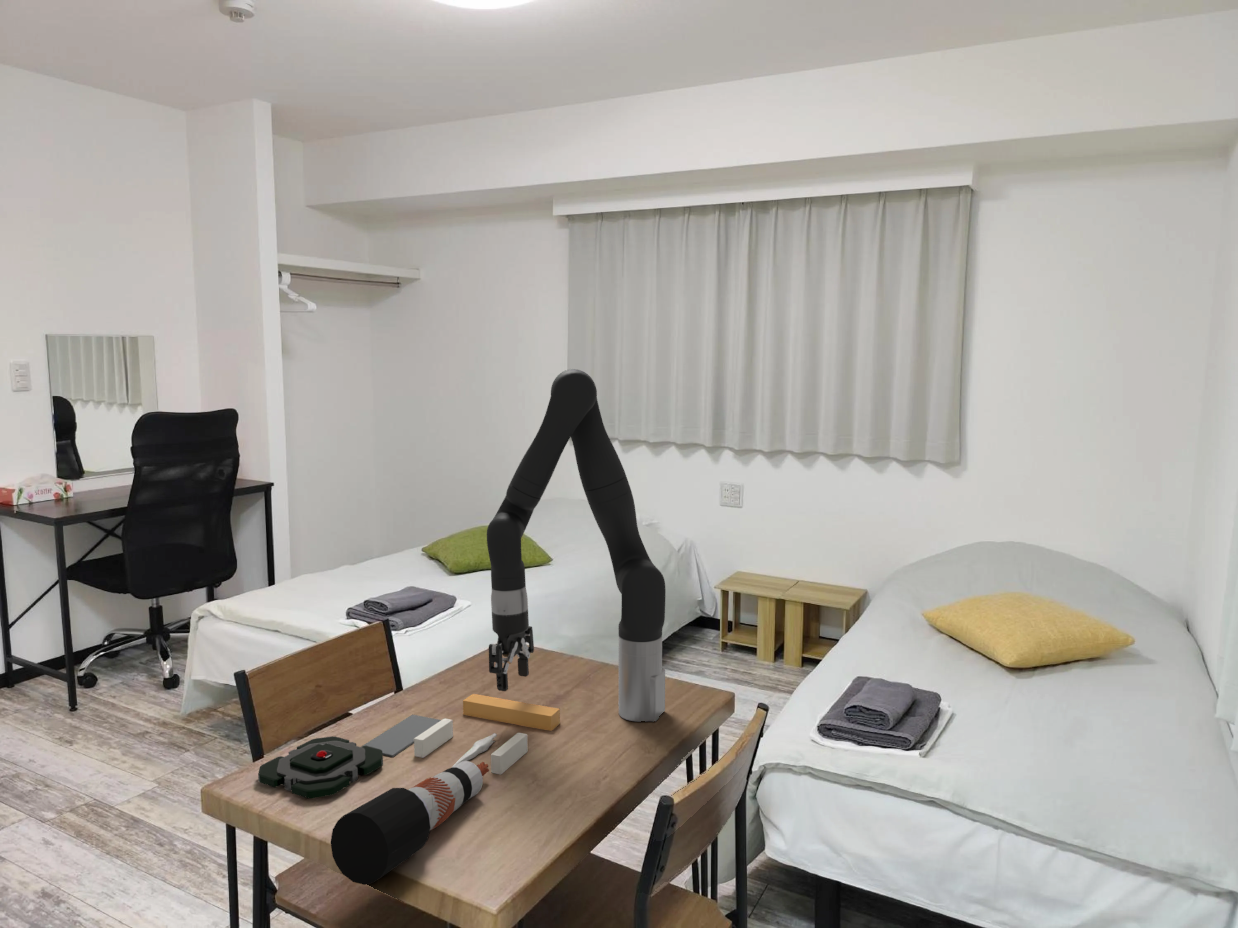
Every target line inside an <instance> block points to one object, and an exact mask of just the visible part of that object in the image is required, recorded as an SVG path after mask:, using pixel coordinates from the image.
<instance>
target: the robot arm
mask: <svg viewBox="0 0 1238 928" xmlns="http://www.w3.org/2000/svg"><path fill="white" fill-rule="evenodd" d="M597 395H598V389H597V385H596V383H595V382H594V380H593V378H592V377H591V376H590V375H589V374H588V373H586V372H585V371H583V370H580V369H575V368H572V369H571V368H569V369H567V370H564V371H562V372H560V373H559V374H558V375H557V376H556V377H555V378H554V380H553V382H552V384H551V387H550V397H549V401H548V404H547V408H546V410H545V414H544V417H543V419H542V422H541V424H540V427H539V428H538V431H537V433H536V435H535V436H534V438H533V440H532V442H531V444H529V445H530V446H529V447H528V449H527V450H526V452H525V454H524V455H523V457H522V459H521V461H520V462H519V464H518V466H517V468H516V470H515V472H514V474H513V476H512V477H511V480H510V483H509V484H508V487H507V490H506V493H505V497H504V499H503V501H502V502H501V503H500V506H499V508H498V510H497V512H496V513H495V515H494V517H493V519H492V520H491V521H490V522H489V524H488V526H487V528H486V546H487V552H488V557H489V563H490V579H491V581H490V582H491V595H490V606H491V624H492V631H493V633H495V634H496V635H497V643H489V645H488V672H489V673H490V674H495V675H496V678H495V679H496V687H497V688H496V689H497V690H498V691H499V692H500V691H501V692H507V691H508V690H509V680H508V679H509V677H508V670H509V665H510V664H512V663H513V660H514V658H515V657H516V656H517V658H518V659H517V673H518V676H519V677H528V676H529V674H530V671H529V659H530V658H531V653H532V654H533V653H534V652H535V647H534V646H535V645H534V644H535V642H534V632H533V626H530V625H529V624H530V623H529V621H530V620H529V605H528V604H529V603H528V602H529V600H528V592H527V586H526V569H525V568H526V567H525V563H524V561H523V560H522V556H523V555H522V538H523V535H524V534H525V531H526V529H527V527H528V524H529V522H530V520H531V517H532V515H533V513H534V511H535V508H536V507H537V506H538V504H539V502H540V501H541V498H542V496H543V495H544V493H545V491H546V490H547V487H548V485H549V483H550V481H551V478H552V477H553V475H554V472H555V469H556V468H557V465H558V463H559V460H560V458H561V456H562V454H563V452H564V450H565V448H566V446H567V444H568V442H569V440H570V439H571V442H572V445H573V450H574V451H573V452H574V456H575V460H576V466H577V470H578V474H579V478H580V481H581V485H582V488H583V492H584V494H585V497H586V499H587V502H588V505H589V508H590V510H591V513H592V515H593V517H594V520H595V521H596V524H597V526H598V528H599V530H600V532H601V534H602V536H603V538H604V541H605V543H606V546H607V550H608V553H609V556H610V561H611V564H612V569H613V572H614V579H615V583H616V586H617V589H618V591H619V592H620V594H621V609H620V610H621V616H620V617H621V618H620V621H619V622H618V704H617V706H618V715H619V717H621V718H622V719H623V720H627V721H630V722H631V721H632V722H636V723H637V722H639V723H640V722H641V721H645V722H654V721H655V722H657V720H658V719H659V718H660V717H661V716H662V715H663V714H664V713H665V712H664V711H666V668H664V667H663V627H664V624H665V619H666V582H665V578H664V575H663V574H662V572H661V571H660V570H659V569H658V567H656V565H654V563H653V561H652V560H651V558H650V556H649V554H648V552H647V549H646V547H645V545H644V543H643V541H642V538H641V535H640V532H639V529H638V528H639V527H638V522H637V511H636V506H635V500H634V496H633V492H632V489H631V485H630V483H629V481H628V478H627V475H626V472H625V468H624V467H623V464H622V461H621V460H620V457H619V455H618V453H617V451H616V448H615V447H614V445H613V443H612V440H611V439H610V436H609V435H608V433H607V430H606V427H605V425H604V421H603V419H602V414H601V413H602V412H601V409H600V407H599V406H600V405H599V402H598V397H597ZM527 643H528V644H527ZM663 712H664V713H663ZM662 713H663V714H662ZM661 714H662V715H661ZM660 715H661V716H660ZM659 716H660V717H659ZM641 723H642V722H641Z"/></svg>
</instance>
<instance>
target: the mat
mask: <svg viewBox="0 0 1238 928" xmlns="http://www.w3.org/2000/svg"><path fill="white" fill-rule="evenodd" d="M441 720H442V719H438V718H434V717H428V716H423V715H417V714H413V713H412V714H411V715H410V716H409V715H408V717H406V718H404V719H403V720H402V721H399V722H398V723H397V724H395V725H393V726H392V727H390V728H389V729H387V730H385V731H384V732H382V733H380V734H379V735H377V736H376V737H373V739H371V740H369V741H368V742H366V743H365V744H363V745H362V746H365V745H367V746H370V747H374V748H377V749H381V750H382V753H383V756H386V757H390V758H394V757H395V756H397V755H399V754H400V753H402V752H403V751H405V750H406V749H407V748H408V747H410V746H412V745H414V738H415V737H417V736H418V735H420V734H421V733H423V732H424V731H426V730H427V729H429V728H430V727H432V726H433V725H435V724H436V723H438V722H439V721H441ZM362 746H360V747H362Z"/></svg>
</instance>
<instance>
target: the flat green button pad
mask: <svg viewBox="0 0 1238 928" xmlns="http://www.w3.org/2000/svg"><path fill="white" fill-rule="evenodd" d="M383 765H384V755H383V753H382V750H381V749H377V748H374V747H370V746H367V745H365V746H363V745H362V747H361V746H359V745H357V743H356V742H354V741H350V739H346V738H342V737H339V736H336V735H335V736H334V735H333V736H325V737H316V738H312V739H310V740H308V741H306V742H304V743H302V744H300V745H298V746H296V748H294V749H292V750H290V751H288V755H285V756H280V755H279V756H276V757H274V758H273V759H270V760H269V761H266V762H265V763H262V764H261V765H260V766H259V768H258V773H257V777H258V778H257V779H258V780H257V781H258V783H260V784H263V785H266V786H270V787H271V788H278V787H280V786H284V790H286V791H289V792H291V794H294V795H295V796H299V797H302V798H305V799H316V798H317V799H318V798H323V797H330V796H333V795H335V794H337V793H339V792H341V791H342V790H344V789H346V788H347V787H349V786H350V785H351V783H353V782H355V781H357V780H358V779H359V775H363V776H366V775H369V774H371V773H373V772H374V771H376V770H378V769H380V768H381V767H382V766H383Z"/></svg>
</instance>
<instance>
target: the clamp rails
mask: <svg viewBox="0 0 1238 928" xmlns="http://www.w3.org/2000/svg"><path fill="white" fill-rule="evenodd" d="M440 720H441V721H439V722H438V723H436V724H435V725H433V726H432V727H430V728H429V729H427V730H426V731H424V732H423V733H421V734H420V735H418V736H417V737H415V738H414V743H413V748H414V749H413V752H414V755H413V756H414V757H417V758H421V759H422V758H425V757H427V756H428V755H430V754H431V753H433V751H435V750H437V748H439V747H441V746H442V745H443V744H445V743H447V741H449V740H451V738H453V737H454V726H453V725H454V724H453V723H454V721H453V719H450V718H442V719H440ZM528 750H529V749H528V734H527V733H523V732H517V733H515V734H514V735H513V736H512V737H511V738H509V739H507V741H506V742H505V743H503V744H502V745H501V746H499V748H497V749H496V750H494V751H493V752H492V753H491V754H490V767H491V768H490V769H491V770H490V771H491V773H492V774H496V775H503V774H504V772H506V771H507V770H508V769H509V768H510V767H511V766H513V765H515V763H516V762H517V761H519V760H520V759H521V758H522V757H523V756H524V755H526V754H527V753H528Z"/></svg>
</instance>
